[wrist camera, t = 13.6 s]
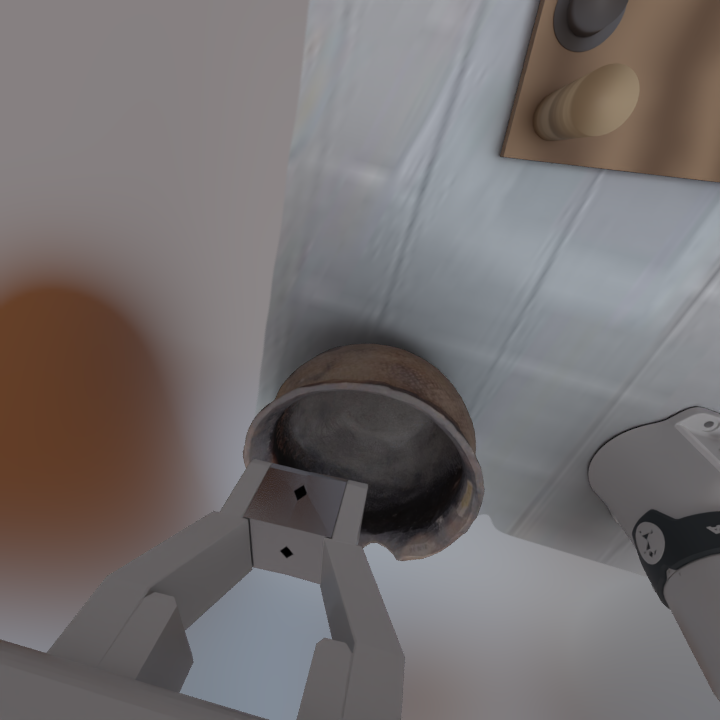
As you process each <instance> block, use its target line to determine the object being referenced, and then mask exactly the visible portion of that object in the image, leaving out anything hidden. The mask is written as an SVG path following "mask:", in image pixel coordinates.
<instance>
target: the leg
mask: <svg viewBox="0 0 720 720" xmlns="http://www.w3.org/2000/svg"><path fill="white" fill-rule="evenodd" d="M627 3H628V0H570V3H569V5H568V9H567V23H568V26H569V28H570V30H571V31H572V33H574V34H575V35H576V36H579V37H589V36H592V35H595V34H596V33H598V32H600V31H601V30H602V29H604V28H605V27H606V26H608V25H609V24H610V23H612V22H613V21H614V20H615V19H616V18H617V17H618V16H619V15H620V14H621V13H622V11H623V10H624V8H625V7H626V5H627Z"/></svg>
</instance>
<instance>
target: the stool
mask: <svg viewBox="0 0 720 720" xmlns="http://www.w3.org/2000/svg"><path fill="white" fill-rule="evenodd" d="M569 3H570V0H541V1H540V4H539V8H538V12H537V16H536V20H535V24H534V27H533V31H532V35H531V39H530V43H529V47H528V50H527V54H526V58H525V62H524V66H523V70H522V73H521V77H520V81H519V85H518V89H517V93H516V96H515V100H514V104H513V108H512V112H511V116H510V119H509V123H508V127H507V131H506V135H505V139H504V142H503V146H502V150H501V154H500V157H508V158H517V159H525V160H534V161H542V162H551V163H559V164H567V165H576V166H584V167H593V168H601V169H610V170H618V171H627V172H635V173H644V174H652V175H661V176H669V177H678V178H686V179H695V180H703V181H712V182H720V0H628V3H627V5H626V7H625V8H624V10H623V11H622V13H621V14H620V15H619V16H618V17H617V18H616V19H615V20H614V21H613V22H612V23H610V24H609V25H608V26H606V27H605V28H604V29H602V30H601V31H600V32H598V33H596V34H595V35H592V36H589V37H579V36H576V35H575V34H574V33H572V31H571V30H570V28H569V26H568V23H567V9H568V5H569Z"/></svg>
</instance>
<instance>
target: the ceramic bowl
mask: <svg viewBox="0 0 720 720" xmlns="http://www.w3.org/2000/svg"><path fill="white" fill-rule="evenodd" d="M475 453H476V440H475V431H474V427H473V423H472V420H471V418H470V416H469V413H468V411H467V408H466V406H465V404H464V402H463V400H462V398H461V396H460V395H459V394H458V392H457V390H456V389H455V387H454V386H453V385H452V383H451V382H450V381H449V380H448V379H447V378H446V377H445V376H444V375H443V374H442V373H441V372H440V371H439V370H438V369H437V368H436V367H434V366H433V365H432V364H430V363H429V362H427V361H425V360H424V359H422V358H420V357H418V356H416V355H414V354H412V353H410V352H408V351H406V350H403V349H400V348H396V347H391V346H387V345H379V344H353V345H345V346H340V347H336V348H333V349H330V350H328V351H326V352H323V353H321V354H319V355H318V356H316V357H314V358H313V359H311V360H310V361H308V362H306V363H305V364H303V365H301V366H300V367H299V368H298V369H297V370H296V371H294V372H293V373H292V374H291V375H290V376H289V378H288V379H287V380H286V381H285V382H284V383H283V385H282V386H281V388H280V390H279V392H278V394H277V396H276V398H275V400H274V401H273V402H271V403H269V404H268V405H267V406H266V407H264V408H263V409H262V410H261V411H260V412H259V413H258V414H257V416H256V417H255V418H254V420H253V421H252V423H251V425H250V427H249V430H248V432H247V435H246V440H245V446H244V450H243V458H244V463H245V466H246V468H247V466H248V465H249V463H250V462H252V461H253V460H254V459H257V460H262V461H266V462H270V463H275V464H279V465H283V466H287V467H291V468H295V469H299V470H303V471H307V472H314V473H319V474H324V475H329V476H334V477H339V478H343V479H348V480H351V481H356V482H360V483H365V484H368V490H367V496H366V501H365V507H364V513H363V519H362V525H361V531H360V536H359V541H358V546H362V548H364V547H365V546H367V545H368V544H370V543H378V544H380V545H382V546H384V547H386V548H387V549H388V550H389V551H390V552H391V553H392V554H393V555H394V556H395V558H396V560H400V561H406V560H416V559H423V558H426V557H429V556H432V555H434V554H436V553H438V552H440V551H442V550H443V549H445V548H446V547H448V546H449V545H451V544H452V543H453V542H454V541H455V540H457V539H458V538H459V537H460V536H461V535H462V534H464V533H466V532H467V531H468V529H469V527H470V526H471V524H472V523H473V521H474V520H475V519H476V518H477V515H478V512H479V509H480V507H481V504H482V500H483V495H484V486H483V476H482V471H481V467H480V465H479V462H478V460H477V458H476V455H475Z"/></svg>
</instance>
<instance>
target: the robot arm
mask: <svg viewBox="0 0 720 720" xmlns="http://www.w3.org/2000/svg"><path fill="white" fill-rule="evenodd" d="M706 422H707V423H706ZM588 477H589V482H590V485H591V487H592V489H593V490H594V492H595V493H596V494H597V495H598V496H599V497H600V498H601V499H602V501H603V502H604V503H605V504H606V506H607V507H608V508H609V510H610V513H611V515H612V516H613V518H614V520H615V521H616V522H617V523H618V524H620V525H621V527H622V528H623V530H624V531H625V533H626V534H627V536H628V537H629V539H630V540H631V542H632V543H633V545H634V546H635V548H636V550H637V553H638V555H639V558H640V561H641V564H642V566H643V568H644V570H645V572H646V574H647V576H648V578H649V580H650V582H651V583H652V587H653V588H654V590H655V592H656V593H657V595H658V596H659V598H660V600H661V601H662V603H663V604H664V605H665V606H666V607H668V608H669V609H670V610H671V612H672V614H673V615H674V617H675V619H676V621H677V623H678V625H679V627H680V629H681V631H682V633H683V635H684V637H685V639H686V641H687V643H688V645H689V647H690V648H691V651H692V652H693V654H694V656H695V658H696V660H697V662H698V664H699V666H700V668H701V670H702V672H703V674H704V676H705V677H706V679H707V681H708V683H709V685H710V687H711V689H712V691H713V693H714V695H715V696H716V697H717V699H718V700H719V701H720V414H719V413H716V412H714V411H711V410H708V409H705V408H702V407H694V408H690V409H687V410H685V411H683V412H681V413H679V414H677V415H675V416H673V417H671V418H669V419H667V420H665V421H662V422H658V423H654V424H649V425H645V426H641V427H638V428H635V429H632V430H629V431H627V432H625V433H623V434H621V435H619V436H617V437H615V438H614V439H612V440H611V441H609V442H608V443H606V444H605V445H604V446H603V447H602V448H601V449H600V450H599V451H598V452H597V453H596V455H595V456H594V458H593V459H592V461H591V464H590V467H589V472H588ZM367 490H368V484H365V483H360V482H356V481H351V480H348V479H343V478H339V477H334V476H329V475H324V474H319V473H314V472H307V471H303V470H299V469H295V468H291V467H287V466H283V465H279V464H275V463H270V462H266V461H262V460H257V459H254V460H253V461H252V462H250V463H249V465H248V466H247V468H246V470H245V471H244V473H243V475H242V476H241V478H240V479H239V481H238V483H237V484H236V486H235V488H234V489H233V491H232V493H231V494H230V496H229V497H228V499H227V501H226V502H225V504H224V506H223V507H222V509H221V511H220V512H216V511H213V512H211V513H210V514H208V515H206V516H205V517H203V518H201V519H200V520H198V521H196V522H195V523H193V524H192V525H190V526H188V527H187V528H185V529H183V530H182V531H180V532H179V533H177V534H175V535H174V536H172V537H170V538H169V539H167V540H165V541H164V542H162V543H160V544H159V545H157V546H156V547H154V548H153V549H151V550H149V551H147V552H146V553H144V554H142V555H141V556H140V557H138V558H136V559H134V560H133V561H131V562H129V563H128V564H126V565H125V566H123V567H121V568H120V569H118V570H116V571H115V572H113V573H111V574H110V575H108V576H107V577H106V578H105V579H104V580H103V582H102V583H101V584H100V586H99V587H98V588H97V589H96V591H95V592H94V593H93V595H92V596H91V597H90V598H89V600H88V601H87V602H86V603H85V605H84V606H83V607H82V608H81V610H80V611H79V612H78V614H77V615H76V616H75V617H74V619H73V620H72V621H71V623H70V624H69V625H68V626H67V627H66V629H65V630H64V632H63V633H62V634H61V635H60V636H59V638H58V639H57V640H56V641H55V643H54V644H53V645H52V647H51V648H50V649H49V650H48V652H47V653H44V652H41V651H37V650H34V649H31V648H27V647H24V646H20V645H17V644H14V643H11V642H7V641H4V640H0V720H268V719H265V718H261V717H258V716H255V715H251V714H248V713H244V712H241V711H238V710H235V709H231V708H228V707H225V706H221V705H218V704H215V703H211V702H208V701H204V700H201V699H198V698H194V697H191V696H188V695H184V694H181V693H179V692H180V690H181V688H182V685H183V683H184V681H185V679H186V677H187V675H188V673H189V670H190V668H191V666H192V664H193V657H192V652H191V649H190V646H189V643H188V640H187V637H186V633H185V630H186V629H187V628H188V627H190V626H191V625H192V624H193V623H194V622H195V621H196V620H197V619H198V618H199V617H201V616H202V615H203V614H204V613H205V612H206V611H207V610H208V609H209V608H210V607H212V606H213V605H214V604H215V603H216V602H217V601H218V600H219V599H220V598H221V597H223V596H224V595H225V594H226V593H227V592H228V591H229V590H230V589H231V588H233V586H235V585H236V584H237V583H238V582H239V581H240V580H241V579H242V578H243V577H245V576H246V575H247V574H248V573H249V572H250V571H251V570H252V567H254V568H259V569H263V570H268V571H272V572H277V573H282V574H286V575H289V576H293V577H297V578H300V579H303V580H307V581H311V582H314V583H317V584H320V587H321V592H322V596H323V601H324V605H325V609H326V614H327V618H328V623H329V627H330V632H331V636H332V639H328V638H323V639H322V640H321V641H320V642H318V643H317V644H316V647H315V651H314V655H313V659H312V663H311V667H310V670H309V674H308V678H307V682H306V686H305V689H304V693H303V697H302V701H301V705H300V709H299V712H298V716H297V720H401V712H402V697H403V681H404V664H405V656H404V654H403V651H402V648H401V646H400V643H399V641H398V638H397V635H396V633H395V630H394V628H393V625H392V623H391V620H390V618H389V615H388V612H387V610H386V607H385V605H384V602H383V599H382V597H381V594H380V592H379V589H378V586H377V584H376V581H375V579H374V576H373V574H372V571H371V569H370V566H369V563H368V561H367V558H366V555H365V553H364V550H363V548H362V546H358V541H359V536H360V531H361V525H362V519H363V513H364V507H365V501H366V496H367Z"/></svg>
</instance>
